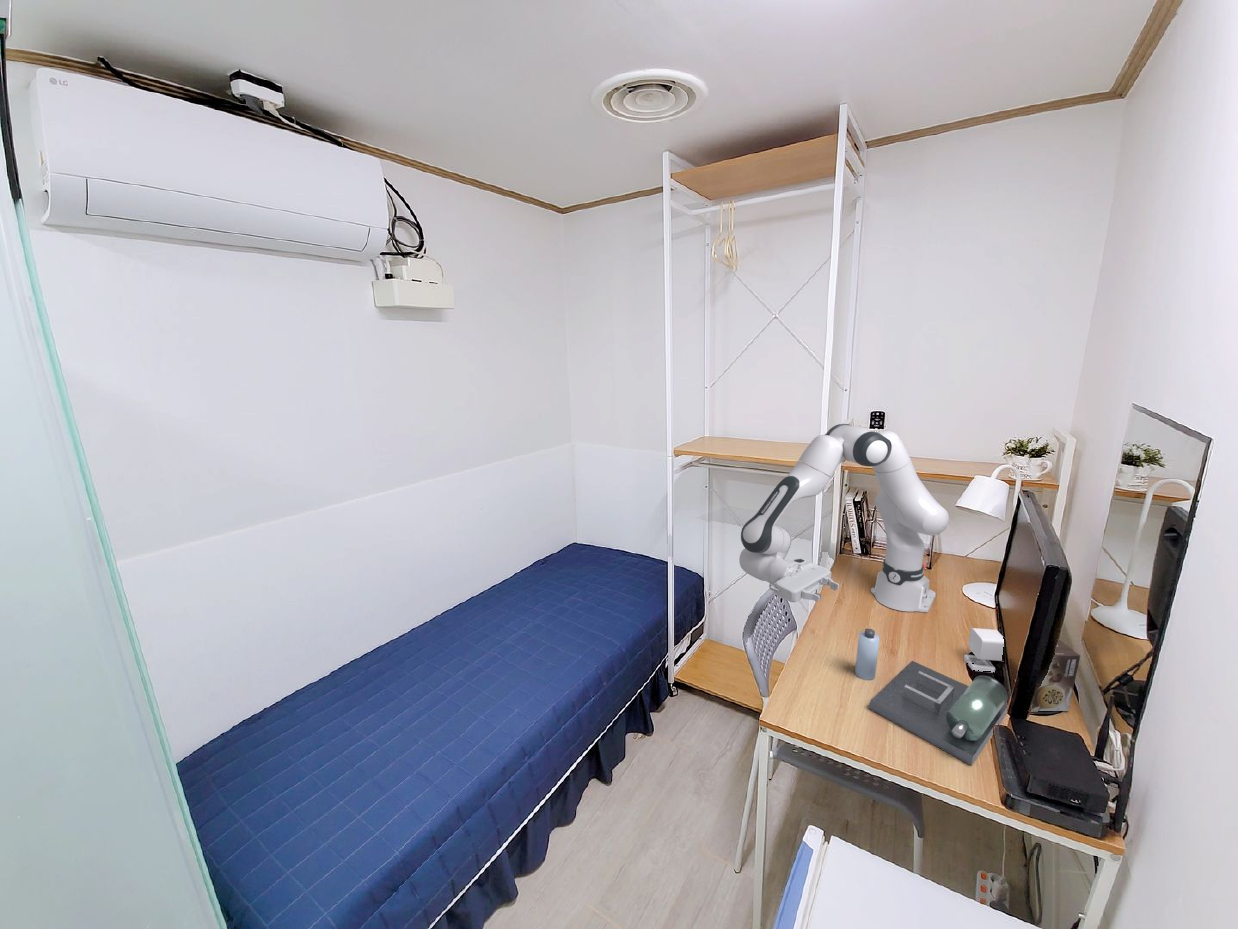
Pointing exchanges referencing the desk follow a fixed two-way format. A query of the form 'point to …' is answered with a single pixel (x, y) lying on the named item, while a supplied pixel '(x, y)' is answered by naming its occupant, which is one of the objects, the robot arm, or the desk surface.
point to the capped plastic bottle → (867, 654)
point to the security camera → (984, 649)
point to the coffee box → (1058, 681)
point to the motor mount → (943, 709)
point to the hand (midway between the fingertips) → (829, 592)
